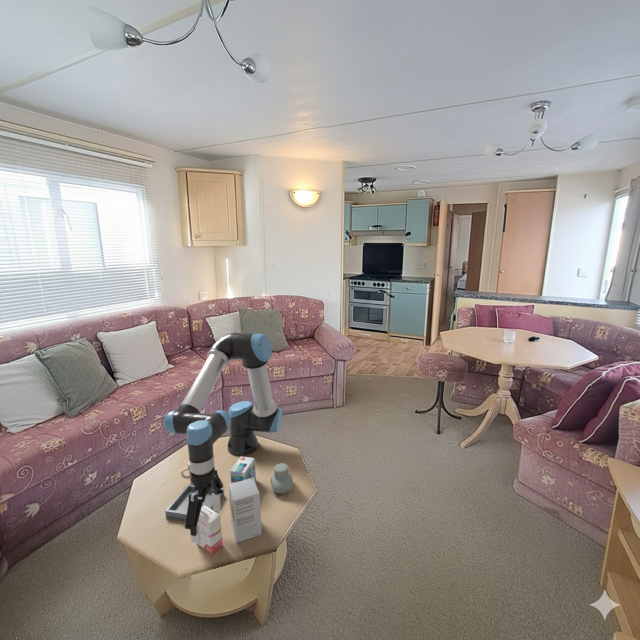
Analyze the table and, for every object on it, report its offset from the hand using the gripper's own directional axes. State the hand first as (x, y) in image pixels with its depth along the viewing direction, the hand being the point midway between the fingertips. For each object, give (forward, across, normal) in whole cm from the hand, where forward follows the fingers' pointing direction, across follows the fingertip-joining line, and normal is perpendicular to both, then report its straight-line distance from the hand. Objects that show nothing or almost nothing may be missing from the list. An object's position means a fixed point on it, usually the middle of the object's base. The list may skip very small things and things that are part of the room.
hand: (207, 525), depth 115 cm
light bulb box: (+7, -29, 0) cm, 30 cm away
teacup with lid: (+7, -29, -22) cm, 37 cm away
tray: (+7, -15, -14) cm, 22 cm away
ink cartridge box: (+8, 0, 0) cm, 8 cm away
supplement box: (+8, -8, +10) cm, 15 cm away
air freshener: (+7, -31, +16) cm, 36 cm away
